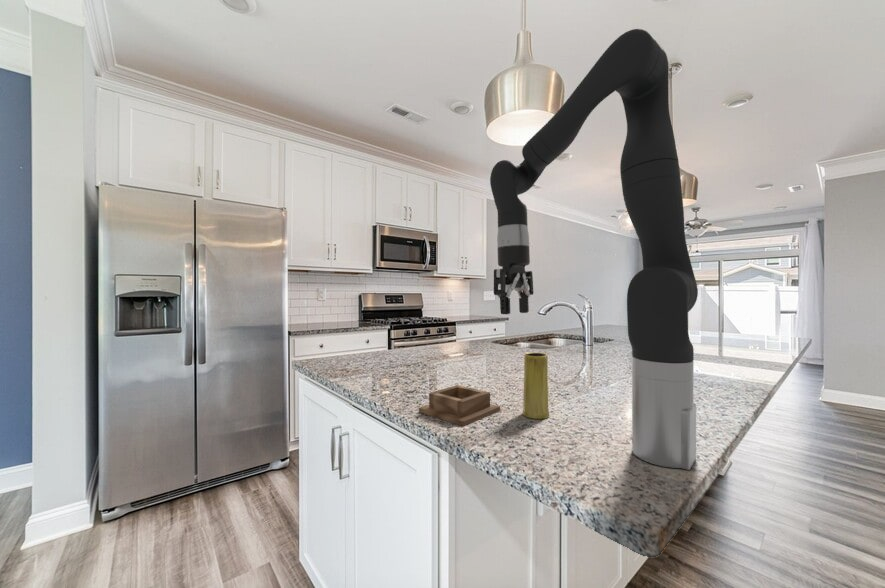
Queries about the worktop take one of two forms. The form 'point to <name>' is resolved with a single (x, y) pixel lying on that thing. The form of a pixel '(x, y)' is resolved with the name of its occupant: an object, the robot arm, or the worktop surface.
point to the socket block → (459, 405)
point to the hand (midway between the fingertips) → (515, 313)
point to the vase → (535, 386)
